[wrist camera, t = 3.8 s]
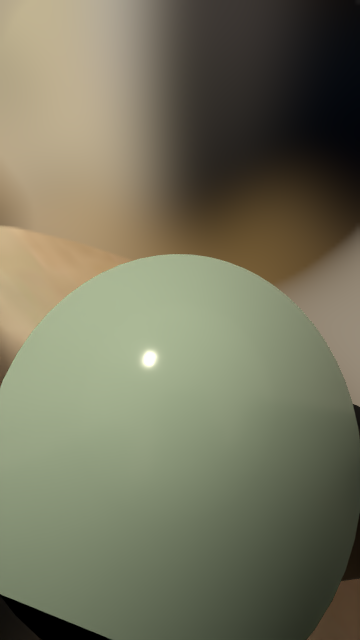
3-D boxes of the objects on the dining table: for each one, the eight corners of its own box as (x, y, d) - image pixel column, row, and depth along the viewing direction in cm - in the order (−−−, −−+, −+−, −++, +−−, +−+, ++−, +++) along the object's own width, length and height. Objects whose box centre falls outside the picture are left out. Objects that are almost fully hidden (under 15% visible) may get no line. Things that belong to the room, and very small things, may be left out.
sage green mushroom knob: (218, 381, 15) (418, 434, 3) (158, 435, 13) (138, 969, 1) (175, 325, 16) (214, 216, 4) (115, 366, 14) (-86, 367, 3)
